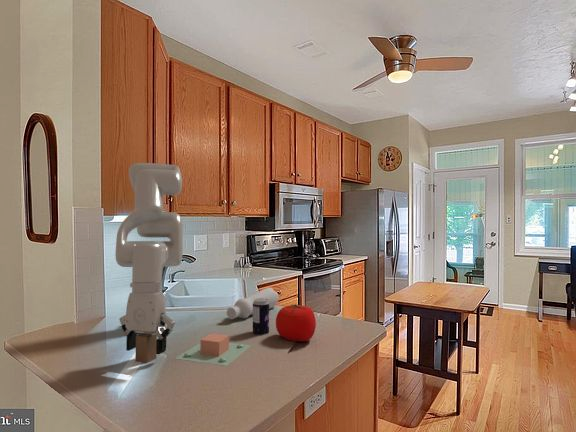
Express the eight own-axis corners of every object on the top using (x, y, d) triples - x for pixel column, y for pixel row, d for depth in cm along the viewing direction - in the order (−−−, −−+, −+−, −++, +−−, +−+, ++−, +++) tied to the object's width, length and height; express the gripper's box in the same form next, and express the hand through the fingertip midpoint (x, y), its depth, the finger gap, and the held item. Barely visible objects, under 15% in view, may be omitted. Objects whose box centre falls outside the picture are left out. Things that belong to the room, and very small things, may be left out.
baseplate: (174, 362, 94) (174, 356, 94) (205, 342, 109) (205, 337, 109) (226, 369, 89) (226, 363, 89) (251, 348, 105) (251, 343, 105)
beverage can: (266, 338, 114) (266, 302, 115) (250, 336, 115) (250, 301, 116) (270, 332, 120) (271, 298, 120) (255, 331, 121) (255, 297, 121)
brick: (200, 353, 97) (200, 339, 98) (211, 346, 103) (211, 333, 103) (219, 356, 96) (219, 342, 96) (229, 349, 101) (229, 335, 101)
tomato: (321, 336, 116) (321, 302, 117) (306, 349, 104) (306, 311, 104) (287, 331, 122) (287, 298, 122) (269, 343, 109) (269, 306, 110)
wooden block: (156, 361, 95) (157, 332, 95) (146, 367, 91) (147, 336, 91) (145, 359, 96) (145, 330, 96) (134, 365, 92) (135, 335, 92)
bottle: (260, 297, 162) (218, 314, 135) (269, 282, 159) (228, 296, 133) (274, 310, 158) (234, 330, 132) (283, 295, 155) (244, 312, 129)
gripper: (111, 288, 93) (109, 352, 92) (165, 291, 88) (164, 359, 87) (131, 284, 100) (130, 343, 99) (182, 286, 95) (181, 349, 94)
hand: (146, 350), depth 93 cm, fingers open, 9 cm apart
